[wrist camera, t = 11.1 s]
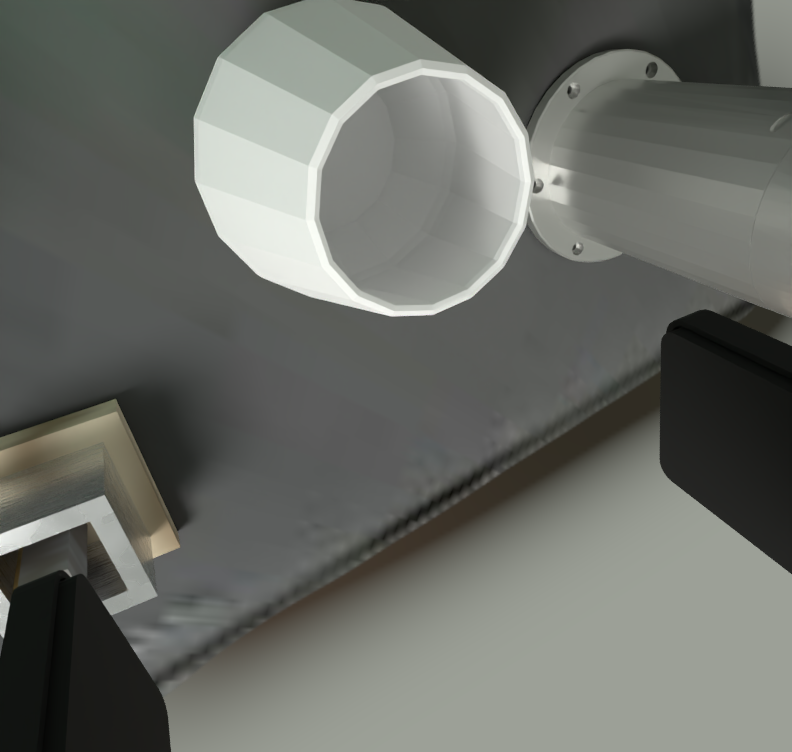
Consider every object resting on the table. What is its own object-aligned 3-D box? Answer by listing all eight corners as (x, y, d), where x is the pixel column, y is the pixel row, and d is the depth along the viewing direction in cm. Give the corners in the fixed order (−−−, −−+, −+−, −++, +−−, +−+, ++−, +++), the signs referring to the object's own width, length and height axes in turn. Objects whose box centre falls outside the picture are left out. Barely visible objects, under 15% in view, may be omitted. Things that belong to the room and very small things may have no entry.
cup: (462, 55, 35) (643, 60, 23) (391, 291, 39) (515, 392, 28) (209, -48, 29) (288, -112, 17) (158, 246, 33) (194, 352, 22)
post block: (115, 398, 35) (121, 472, 29) (177, 532, 40) (193, 619, 34) (-86, 466, 33) (-127, 563, 27) (7, 599, 38) (-10, 707, 32)
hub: (103, 441, 35) (104, 495, 30) (150, 536, 38) (157, 595, 34) (-39, 491, 33) (-58, 555, 29) (24, 586, 36) (16, 655, 32)
